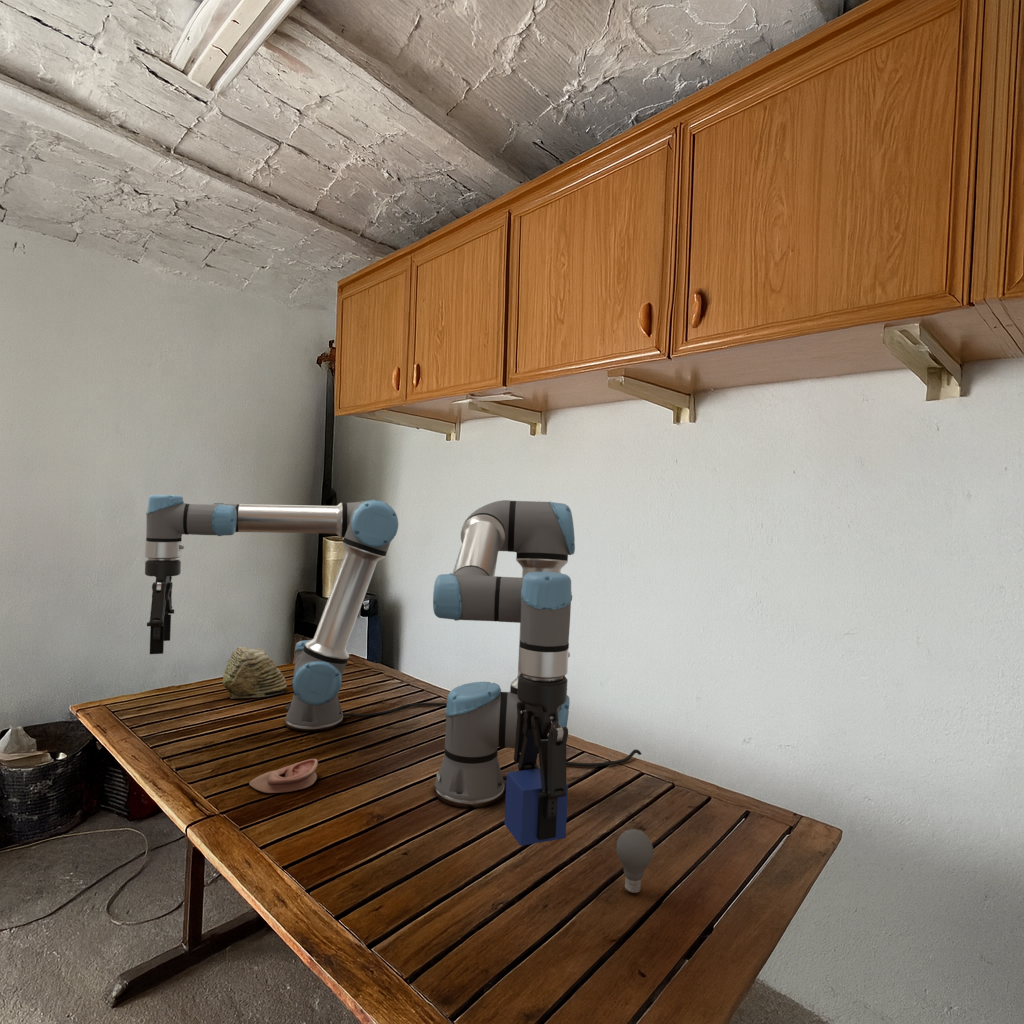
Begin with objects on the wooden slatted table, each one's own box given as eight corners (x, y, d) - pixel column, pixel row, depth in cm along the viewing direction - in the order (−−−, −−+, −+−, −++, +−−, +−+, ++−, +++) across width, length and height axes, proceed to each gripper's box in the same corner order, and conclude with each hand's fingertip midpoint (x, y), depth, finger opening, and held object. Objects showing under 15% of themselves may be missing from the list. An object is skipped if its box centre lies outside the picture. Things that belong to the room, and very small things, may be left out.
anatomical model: (241, 770, 135) (272, 750, 146) (240, 789, 135) (271, 767, 146) (297, 779, 132) (324, 757, 144) (297, 798, 132) (324, 775, 144)
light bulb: (610, 879, 108) (613, 822, 108) (644, 879, 109) (647, 822, 109) (619, 902, 102) (622, 840, 102) (655, 901, 103) (658, 840, 103)
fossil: (218, 695, 195) (220, 647, 195) (278, 685, 208) (279, 640, 207) (228, 703, 189) (230, 653, 188) (289, 692, 201) (290, 645, 201)
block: (520, 846, 92) (523, 790, 92) (504, 824, 98) (506, 772, 98) (565, 838, 95) (568, 784, 94) (547, 817, 101) (549, 766, 101)
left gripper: (175, 564, 142) (172, 658, 142) (185, 554, 165) (182, 635, 165) (136, 564, 139) (133, 660, 139) (152, 553, 162) (150, 636, 162)
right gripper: (596, 691, 88) (588, 855, 89) (539, 657, 107) (532, 793, 107) (547, 695, 86) (540, 864, 86) (497, 660, 104) (491, 799, 104)
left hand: (160, 647), depth 152 cm, fingers open, 13 cm apart
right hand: (536, 825), depth 96 cm, fingers closed on block, 7 cm apart
